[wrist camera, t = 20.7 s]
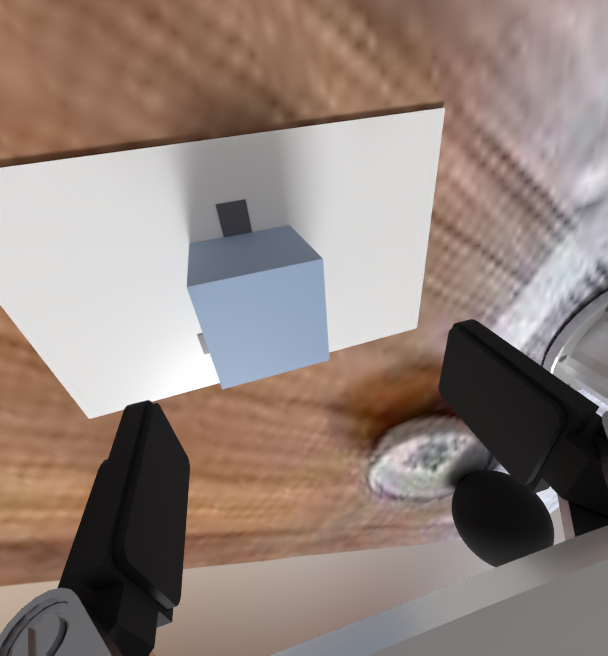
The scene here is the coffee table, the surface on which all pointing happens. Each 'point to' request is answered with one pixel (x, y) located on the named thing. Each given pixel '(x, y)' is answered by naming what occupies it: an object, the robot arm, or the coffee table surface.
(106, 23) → the coffee table surface
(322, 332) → the blue cube
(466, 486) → the decorative ball
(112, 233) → the letter sheet
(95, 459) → the coffee table surface
